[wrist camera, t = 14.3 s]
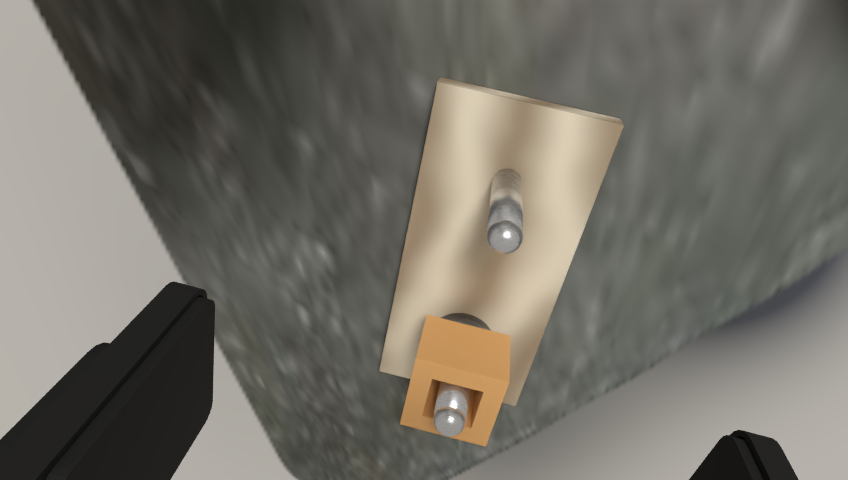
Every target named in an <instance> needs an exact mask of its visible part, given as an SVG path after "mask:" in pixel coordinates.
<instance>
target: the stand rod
mask: <svg viewBox="0 0 848 480" xmlns="http://www.w3.org/2000/svg"><path fill="white" fill-rule="evenodd" d="M486 238H487V243H488V245H489V247H490V248H491V249H492V250H493V251H495V252H496V253H499V254H503V255H506V254H511V253H513V252H515V251H516V250H517V249H518V248H519V247H520V246H521V244H522V241H523V206H522V179H521V176H520V174H519V173H518V172H517V171H515V170H513V169H508V168H506V169H502V170H499V171H498V172H497V173H496V174H495V175H494V177H493V180H492V188H491V198H490V207H489V216H488V225H487V234H486Z"/></svg>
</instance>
